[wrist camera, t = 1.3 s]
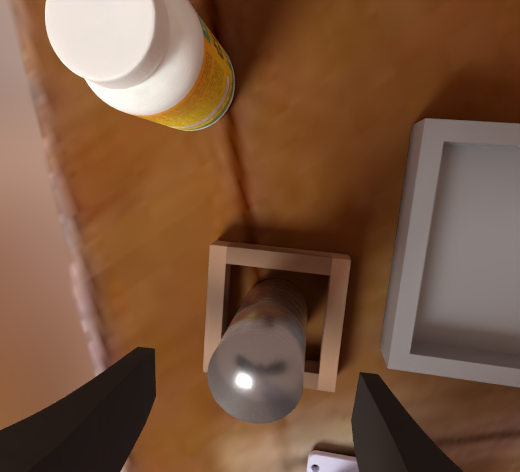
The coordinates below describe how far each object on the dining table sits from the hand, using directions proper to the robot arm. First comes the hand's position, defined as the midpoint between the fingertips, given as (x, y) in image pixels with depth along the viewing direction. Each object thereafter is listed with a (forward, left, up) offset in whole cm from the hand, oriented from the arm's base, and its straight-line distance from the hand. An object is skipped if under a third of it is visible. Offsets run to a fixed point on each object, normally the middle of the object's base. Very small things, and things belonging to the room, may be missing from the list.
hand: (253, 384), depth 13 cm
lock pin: (-1, 0, -10) cm, 10 cm away
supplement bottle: (+12, +6, -10) cm, 17 cm away
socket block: (-1, 0, -10) cm, 10 cm away
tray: (+4, -13, -10) cm, 17 cm away
